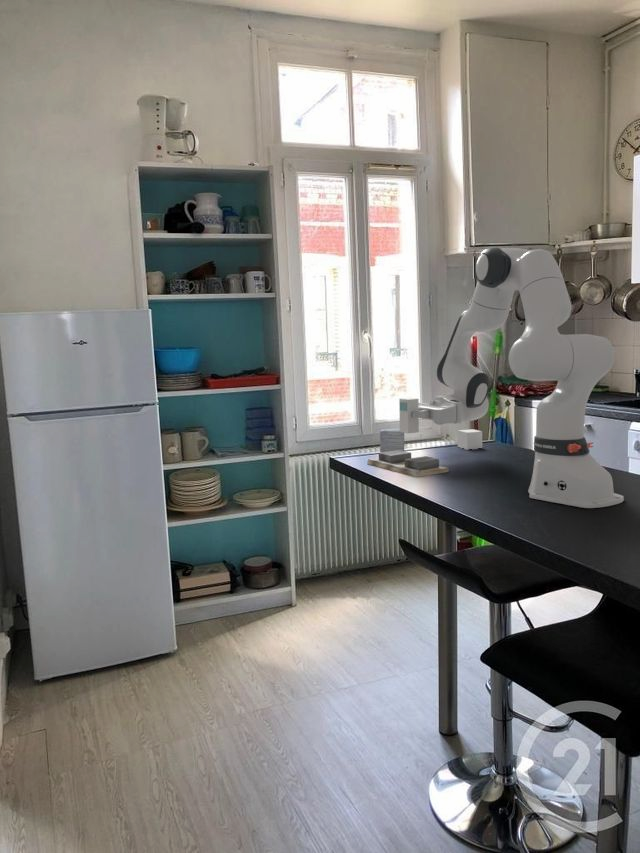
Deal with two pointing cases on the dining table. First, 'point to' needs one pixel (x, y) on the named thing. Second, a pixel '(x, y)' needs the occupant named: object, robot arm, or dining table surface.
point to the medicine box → (391, 440)
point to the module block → (408, 415)
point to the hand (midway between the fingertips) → (406, 413)
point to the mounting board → (408, 463)
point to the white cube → (469, 439)
